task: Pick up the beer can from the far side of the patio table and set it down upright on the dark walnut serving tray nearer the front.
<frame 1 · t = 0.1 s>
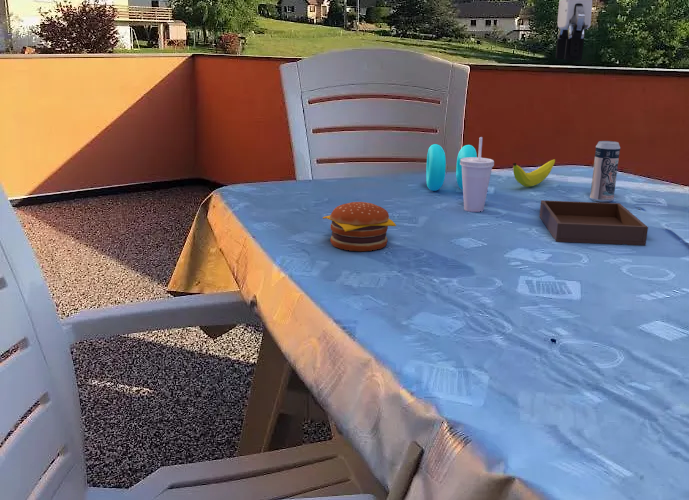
hand: (568, 59, 143), 28 cm above the table, tool pointing down, fingers open, 9 cm apart
smoothie: (473, 210, 137), on the table
banana: (532, 186, 160), on the table
donuts: (449, 191, 153), on the table
hamburger: (358, 244, 113), on the table
tray: (588, 230, 123), on the table
beer can: (601, 201, 146), on the table
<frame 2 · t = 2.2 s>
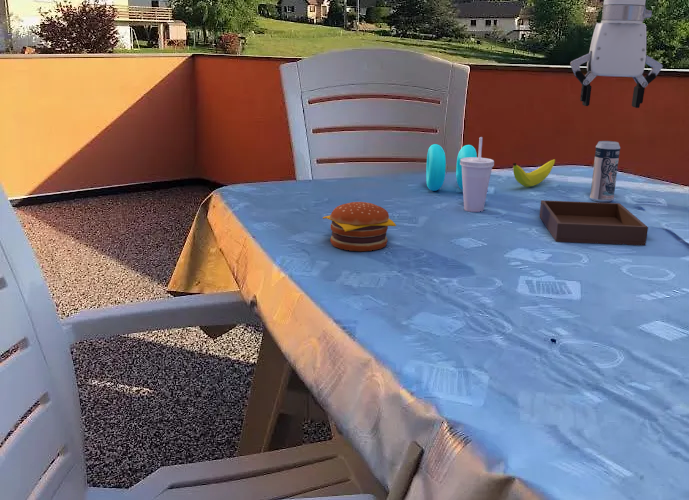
hand: (610, 106, 141), 19 cm above the table, tool pointing down, fingers open, 9 cm apart
nothing on the table moved.
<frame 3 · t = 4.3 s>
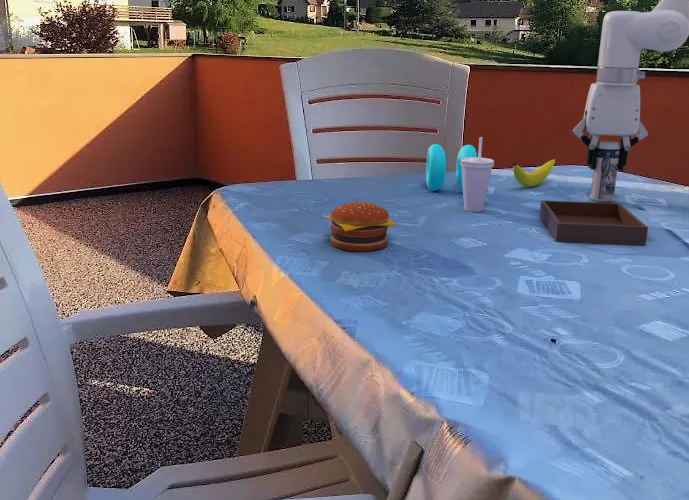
hand: (605, 167, 144), 7 cm above the table, tool pointing down, fingers closed on beer can, 4 cm apart
beer can: (601, 201, 146), on the table, touching gripper
everything else where it was.
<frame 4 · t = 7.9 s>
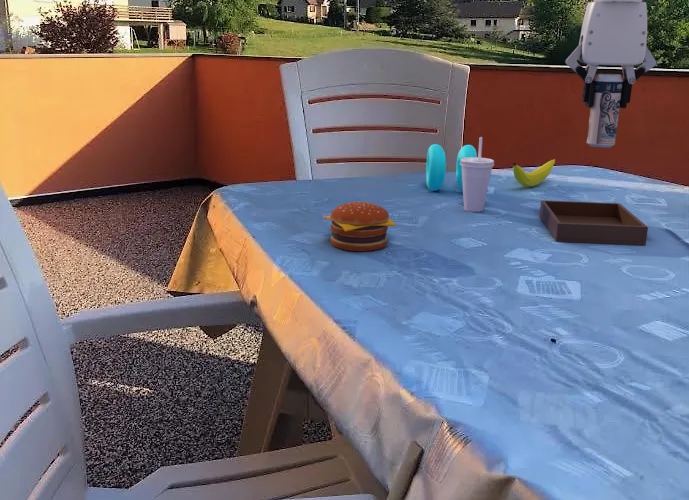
hand: (605, 106, 120), 21 cm above the table, tool pointing down, fingers closed on beer can, 4 cm apart
beer can: (600, 147, 122), point 14 cm above the table, touching gripper
everything else where it was.
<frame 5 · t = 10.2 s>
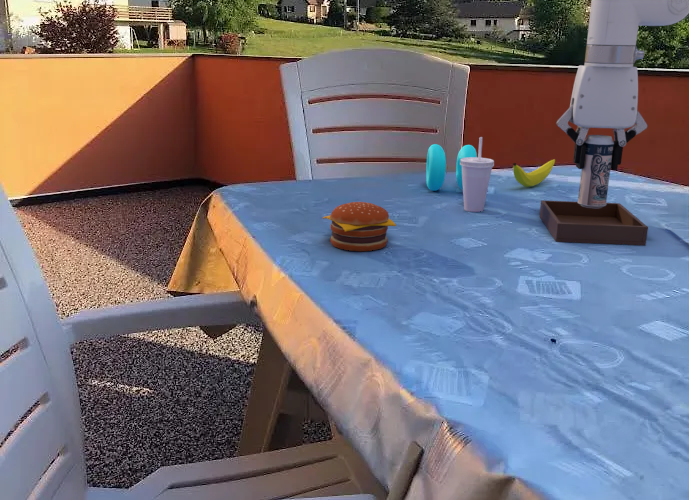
hand: (596, 167, 120), 11 cm above the table, tool pointing down, fingers closed on beer can, 4 cm apart
beer can: (591, 207, 122), point 4 cm above the table, touching gripper
everything else where it was.
when the fingers open (7 cm above the table, at t = 11.6 s): beer can stays where it is, resting on tray.
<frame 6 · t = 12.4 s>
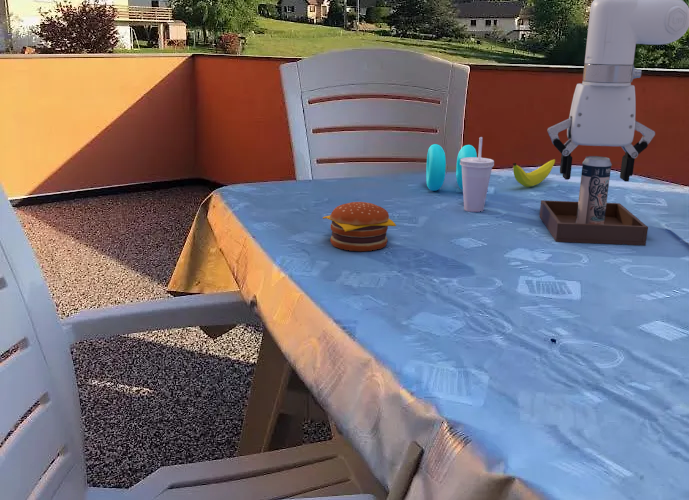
hand: (595, 179, 121), 9 cm above the table, tool pointing down, fingers open, 9 cm apart
beer can: (589, 227, 123), resting on tray
everything else where it was.
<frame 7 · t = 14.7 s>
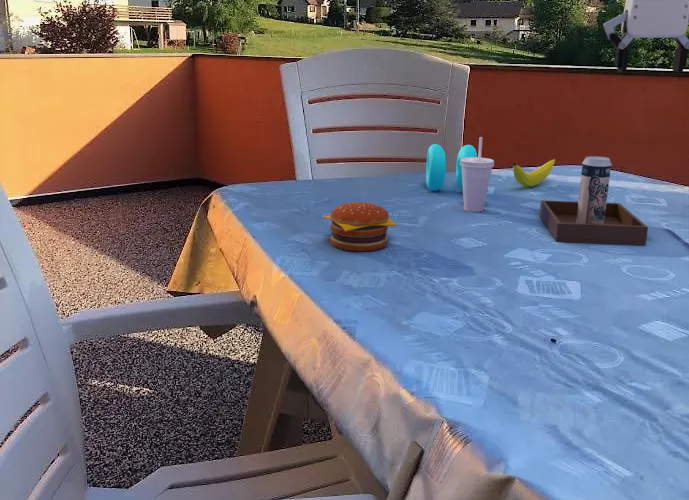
hand: (649, 72, 126), 26 cm above the table, tool pointing down, fingers open, 9 cm apart
nothing on the table moved.
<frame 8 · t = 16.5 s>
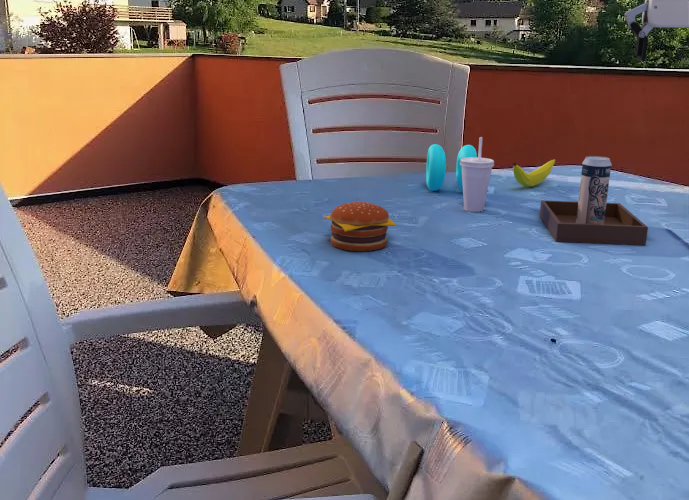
hand: (667, 60, 131), 28 cm above the table, tool pointing down, fingers open, 9 cm apart
nothing on the table moved.
at the end: beer can inside the target area in the tray (0.1 cm from its centre), point 0.4 cm above the tray's base; beer can tilted 0°; the gripper is holding nothing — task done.
